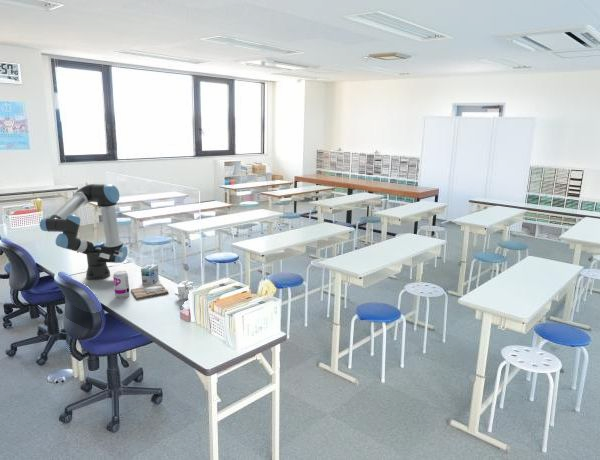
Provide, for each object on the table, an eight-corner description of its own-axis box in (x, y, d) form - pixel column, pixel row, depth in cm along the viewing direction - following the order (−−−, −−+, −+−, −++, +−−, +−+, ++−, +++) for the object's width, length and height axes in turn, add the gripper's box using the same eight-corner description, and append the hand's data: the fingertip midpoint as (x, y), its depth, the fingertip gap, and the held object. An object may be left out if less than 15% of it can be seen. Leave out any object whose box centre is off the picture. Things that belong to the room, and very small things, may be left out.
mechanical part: (184, 294, 277) (183, 276, 274) (198, 298, 271) (197, 279, 269) (170, 300, 268) (169, 281, 265) (185, 304, 262) (184, 285, 259)
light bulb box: (151, 284, 293) (149, 269, 291) (141, 284, 295) (140, 268, 292) (159, 279, 304) (158, 264, 301) (150, 278, 305) (148, 263, 302)
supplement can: (121, 299, 269) (118, 276, 265) (112, 296, 273) (110, 273, 270) (132, 295, 276) (130, 272, 272) (123, 292, 280) (121, 269, 276)
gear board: (131, 291, 281) (130, 288, 281) (161, 286, 291) (161, 283, 291) (136, 300, 268) (136, 297, 268) (168, 293, 278) (168, 291, 278)
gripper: (70, 255, 268) (102, 263, 284) (94, 251, 254) (126, 260, 270) (73, 243, 270) (104, 252, 286) (97, 238, 256) (129, 248, 273)
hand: (115, 256), depth 278 cm, fingers open, 13 cm apart
